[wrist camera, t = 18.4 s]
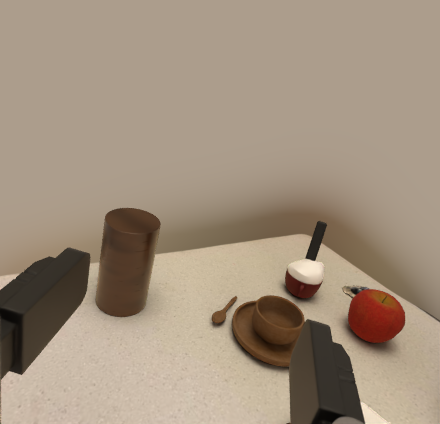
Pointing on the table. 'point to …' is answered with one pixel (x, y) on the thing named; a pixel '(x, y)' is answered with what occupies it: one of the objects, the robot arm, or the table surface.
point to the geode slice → (353, 290)
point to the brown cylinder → (126, 261)
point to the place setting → (266, 328)
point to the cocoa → (307, 268)
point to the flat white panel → (372, 415)
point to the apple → (376, 316)
